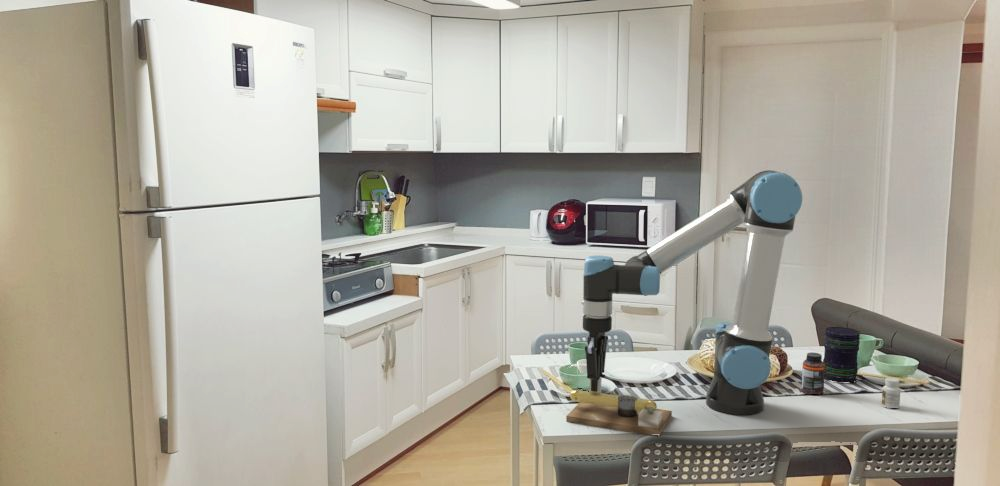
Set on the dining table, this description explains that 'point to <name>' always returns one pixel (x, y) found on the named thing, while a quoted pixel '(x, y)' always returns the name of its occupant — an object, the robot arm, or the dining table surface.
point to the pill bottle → (891, 393)
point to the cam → (614, 402)
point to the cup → (581, 366)
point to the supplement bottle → (813, 374)
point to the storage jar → (841, 354)
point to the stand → (620, 418)
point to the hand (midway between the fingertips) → (595, 401)
